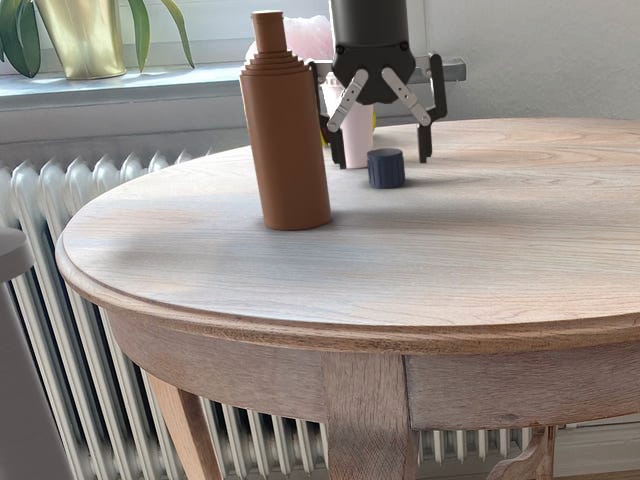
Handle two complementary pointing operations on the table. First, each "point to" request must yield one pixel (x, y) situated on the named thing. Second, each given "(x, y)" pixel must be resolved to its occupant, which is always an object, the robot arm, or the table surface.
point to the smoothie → (351, 124)
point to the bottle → (284, 130)
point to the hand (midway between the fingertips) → (383, 165)
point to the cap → (386, 168)
